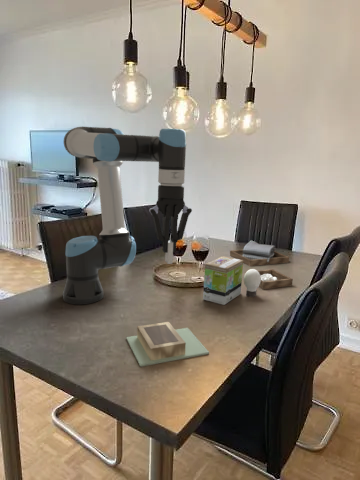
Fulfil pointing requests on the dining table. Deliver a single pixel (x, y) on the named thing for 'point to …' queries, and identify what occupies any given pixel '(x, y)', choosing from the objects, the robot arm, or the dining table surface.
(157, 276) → the dining table surface
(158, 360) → the mat
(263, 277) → the rose
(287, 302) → the dining table surface
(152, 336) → the tan rectangular box
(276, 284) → the rose frame
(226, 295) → the tea box
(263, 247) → the towel
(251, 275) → the light bulb
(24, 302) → the dining table surface
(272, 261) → the frame
